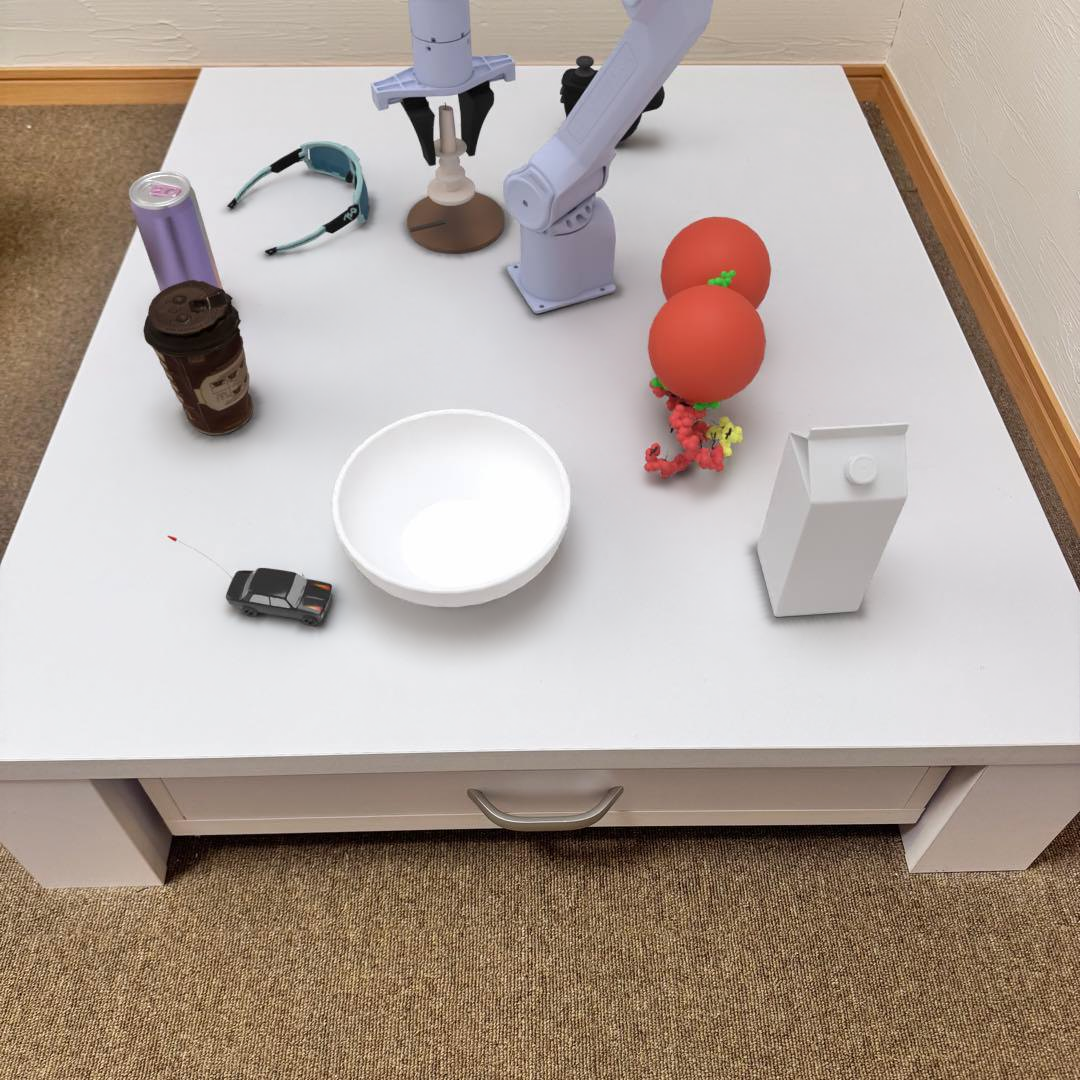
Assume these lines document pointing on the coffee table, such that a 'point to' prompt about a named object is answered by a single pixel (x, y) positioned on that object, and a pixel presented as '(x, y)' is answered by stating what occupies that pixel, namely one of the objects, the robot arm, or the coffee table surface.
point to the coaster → (456, 224)
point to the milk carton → (832, 516)
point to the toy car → (278, 594)
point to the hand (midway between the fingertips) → (449, 155)
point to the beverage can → (173, 229)
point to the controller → (580, 79)
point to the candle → (449, 165)
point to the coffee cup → (201, 354)
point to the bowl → (452, 507)
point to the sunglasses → (325, 161)
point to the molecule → (707, 334)
